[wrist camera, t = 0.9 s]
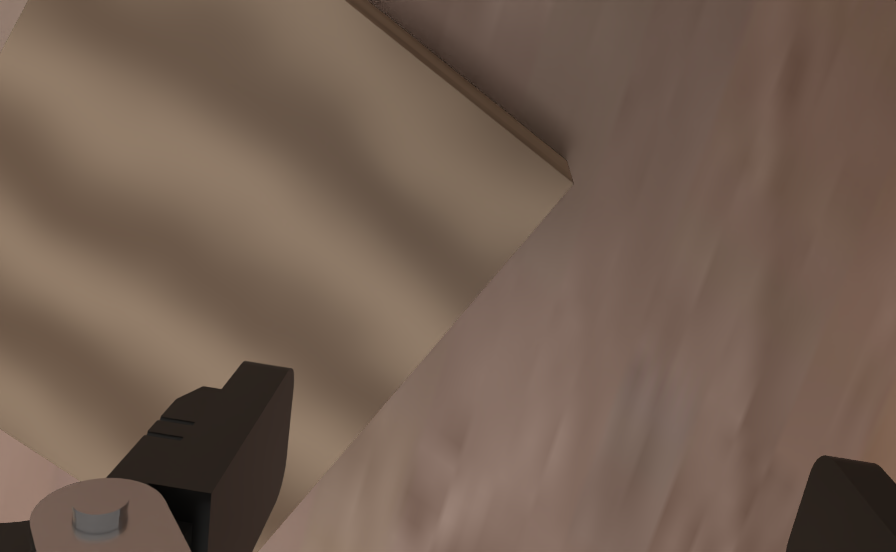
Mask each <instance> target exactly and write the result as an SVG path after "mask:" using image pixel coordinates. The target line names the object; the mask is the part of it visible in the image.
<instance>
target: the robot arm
mask: <svg viewBox="0 0 896 552" xmlns="http://www.w3.org/2000/svg"><path fill="white" fill-rule="evenodd" d="M293 390H294V371H293V369H292V368H287V367H281V366H275V365H269V364H263V363H256V362H250V361H243V362H242V364H241V365H240V366H239V367H238V369H237V370H236V371H235V372H234V374H233V375H232V376H231V378H230V379H229V380H228V381H227V383H226V384H225V385H224V386H223V388H222V389H219V388H212V387H206V386H202V387H200V388H198V389H196V390H194V391H192V392H190V393H188V394H185V395H183V396H181V397H179V398H177V399H176V400H175V401H174V402H173V403H172V404H171V405H170V406H169V408H168V409H167V410H166V411H165V412H164V413H163V414H162V415H161V417H160V420H157V421H156V422H155V423H154V424H153V425H152V427H151V428H150V429H149V430H148V431H147V435H144V436H143V437H142V438H141V439H140V440H139V441H138V442H137V443H136V445H135V446H134V447H133V448H132V449H131V450H130V451H129V452H128V454H127V455H126V456H125V457H124V458H123V459H122V460H121V461H120V463H119V464H118V465H117V466H116V467H115V468H114V469H113V470H112V472H111V473H110V474H109V475H108V476H107V477H106V478H98V479H91V480H85V481H81V482H77V483H73V484H70V485H67V486H65V487H62V488H60V489H58V490H56V491H54V492H52V493H51V494H49V495H47V496H46V497H45V498H44V499H42V500H41V501H40V502H39V503H38V504H37V505H36V507H35V508H34V510H33V512H32V513H31V517H30V520H29V521H22V522H12V523H0V552H252V551H253V549H254V547H255V545H256V543H257V541H258V539H259V537H260V535H261V533H262V530H263V528H264V526H265V524H266V522H267V520H268V518H269V516H270V514H271V512H272V509H273V507H274V505H275V503H276V501H277V498H278V496H279V493H280V489H281V486H282V482H283V477H284V472H285V467H286V460H287V450H288V440H289V430H290V420H291V410H292V400H293ZM786 552H896V484H895V483H894V481H893V480H892V479H891V478H890V477H889V476H888V475H887V474H886V472H885V471H884V470H883V469H882V468H881V467H880V466H879V465H877V464H875V463H869V462H863V461H857V460H850V459H844V458H838V457H832V456H826V455H825V456H821V457H820V458H818V459H817V460H816V462H815V463H814V465H813V467H812V469H811V472H810V475H809V478H808V481H807V484H806V488H805V491H804V494H803V497H802V500H801V503H800V506H799V509H798V512H797V516H796V519H795V522H794V525H793V528H792V531H791V534H790V537H789V541H788V544H787V549H786Z"/></svg>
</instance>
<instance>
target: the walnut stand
mask: <svg viewBox="0 0 896 552" xmlns="http://www.w3.org/2000/svg"><path fill="white" fill-rule="evenodd" d="M573 184H574V182H573V179H572V176H571V173H570V170H569V167H568V163H567V160H565V159H564V158H563V157H562V156H560V155H559V154H558V153H557V152H555V151H554V150H553V149H552V148H550V147H549V146H548V145H547V144H545V143H544V142H543V141H542V140H540V139H539V138H538V137H537V136H535V135H534V134H533V133H532V132H530V131H529V130H528V129H527V128H525V127H524V126H523V125H522V124H521V123H519V122H518V121H517V120H516V119H514V118H513V117H512V116H511V115H509V114H508V113H507V112H506V111H504V110H503V109H502V108H501V107H499V106H498V105H497V104H496V103H494V102H493V101H492V100H491V99H489V98H488V97H487V96H486V95H484V94H483V93H482V92H481V91H479V90H478V89H477V88H476V87H475V86H473V85H472V84H471V83H470V82H468V81H467V80H466V79H465V78H463V77H462V76H461V75H460V74H458V73H457V72H456V71H455V70H453V69H452V68H451V67H450V66H448V65H447V64H446V63H445V62H443V61H442V60H441V59H440V58H438V57H437V56H436V55H435V54H433V53H432V52H431V51H430V50H429V49H427V48H426V47H425V46H424V45H422V44H421V43H420V42H419V41H417V40H416V39H415V38H414V37H412V36H411V35H410V34H409V33H407V32H406V31H405V30H404V29H402V28H401V27H400V26H399V25H397V24H396V23H395V22H394V21H392V20H391V19H390V18H389V17H387V16H386V15H385V14H384V13H383V12H381V11H380V10H379V9H378V8H376V7H375V6H374V5H373V4H371V3H370V2H369V1H368V0H28V2H27V3H26V5H25V7H24V9H23V11H22V13H21V15H20V17H19V18H18V20H17V22H16V24H15V26H14V28H13V30H12V32H11V34H10V35H9V37H8V39H7V41H6V43H5V45H4V47H3V49H2V51H1V52H0V429H1V430H2V431H4V432H5V433H7V434H8V435H10V436H11V437H13V438H15V439H16V440H18V441H19V442H21V443H22V444H24V445H25V446H27V447H28V448H30V449H31V450H33V451H34V452H36V453H38V454H39V455H41V456H42V457H44V458H45V459H47V460H48V461H50V462H51V463H53V464H54V465H56V466H57V467H59V468H61V469H62V470H64V471H65V472H67V473H68V474H70V475H71V476H73V477H74V478H76V479H77V480H79V481H80V482H81V481H85V480H91V479H98V478H106V477H107V476H108V475H109V474H110V473H111V472H112V470H113V469H114V468H115V467H116V466H117V465H118V464H119V463H120V461H121V460H122V459H123V458H124V457H125V456H126V455H127V454H128V452H129V451H130V450H131V449H132V448H133V447H134V446H135V445H136V443H137V442H138V441H139V440H140V439H141V438H142V437H143V436H144V435H147V431H148V430H149V429H150V428H151V427H152V425H153V424H154V423H155V422H156V421H157V420H160V417H161V415H162V414H163V413H164V412H165V411H166V410H167V409H168V408H169V406H170V405H171V404H172V403H173V402H174V401H175V400H176V399H177V398H179V397H181V396H183V395H185V394H188V393H190V392H192V391H194V390H196V389H198V388H200V387H202V386H206V387H212V388H219V389H222V388H223V386H224V385H225V384H226V383H227V381H228V380H229V379H230V378H231V376H232V375H233V374H234V372H235V371H236V370H237V369H238V367H239V366H240V365H241V364H242V362H243V361H250V362H256V363H263V364H269V365H275V366H281V367H287V368H292V369H293V371H294V390H293V400H292V410H291V420H290V430H289V440H288V450H287V460H286V467H285V472H284V477H283V482H282V486H281V489H280V493H279V496H278V498H277V501H276V503H275V505H274V507H273V509H272V512H271V514H270V516H269V518H268V520H267V522H266V524H265V526H264V528H263V530H262V533H261V535H260V537H259V539H258V541H257V543H256V545H255V547H254V549H253V551H252V552H258V551H259V550H260V549H261V548H262V547H263V545H264V544H265V543H266V542H267V541H268V540H269V538H270V537H271V536H272V535H273V534H274V533H275V531H276V530H277V529H278V528H279V527H280V526H281V524H282V523H283V522H284V521H285V520H286V519H287V517H288V516H289V515H290V514H291V513H292V512H293V510H294V509H295V508H296V507H297V506H298V505H299V503H300V502H301V501H302V500H303V499H304V498H305V496H306V495H307V494H308V493H309V492H310V491H311V489H312V488H313V487H314V486H315V485H316V484H317V482H318V481H319V480H320V479H321V478H322V477H323V475H324V474H325V473H326V472H327V471H328V470H329V468H330V467H331V466H332V465H333V464H334V463H335V462H336V460H337V459H338V458H339V457H340V456H341V455H342V453H343V452H344V451H345V450H346V449H347V448H348V446H349V445H350V444H351V443H352V442H353V441H354V439H355V438H356V437H357V436H358V435H359V434H360V432H361V431H362V430H363V429H364V428H365V427H366V425H367V424H368V423H369V422H370V421H371V420H372V418H373V417H374V416H375V415H376V414H377V413H378V411H379V410H380V409H381V408H382V407H383V406H384V404H385V403H386V402H387V401H388V400H389V399H390V397H391V396H392V395H393V394H394V393H395V392H396V390H397V389H398V388H399V387H400V386H401V385H402V383H403V382H404V381H405V380H406V379H407V378H408V376H409V375H410V374H411V373H412V372H413V371H414V369H415V368H416V367H417V366H418V365H419V364H420V362H421V361H422V360H423V359H424V358H425V357H426V356H427V354H428V353H429V352H430V351H431V350H432V349H433V347H434V346H435V345H436V344H437V343H438V342H439V340H440V339H441V338H442V337H443V336H444V335H445V333H446V332H447V331H448V330H449V329H450V328H451V326H452V325H453V324H454V323H455V322H456V321H457V319H458V318H459V317H460V316H461V315H462V314H463V312H464V311H465V310H466V309H467V308H468V307H469V305H470V304H471V303H472V302H473V301H474V300H475V298H476V297H477V296H478V295H479V294H480V293H481V291H482V290H483V289H484V288H485V287H486V286H487V284H488V283H489V282H490V281H491V280H492V279H493V277H494V276H495V275H496V274H497V273H498V272H499V270H500V269H501V268H502V267H503V266H504V265H505V263H506V262H507V261H508V260H509V259H510V258H511V257H512V255H513V254H514V253H515V252H516V251H517V250H518V248H519V247H520V246H521V245H522V244H523V243H524V241H525V240H526V239H527V238H528V237H529V236H530V234H531V233H532V232H533V231H534V230H535V229H536V227H537V226H538V225H539V224H540V223H541V222H542V220H543V219H544V218H545V217H546V216H547V215H548V213H549V212H550V211H551V210H552V209H553V208H554V206H555V205H556V204H557V203H558V202H559V201H560V199H561V198H562V197H563V196H564V195H565V194H566V192H567V191H568V190H569V189H570V188H571V187H572V185H573Z"/></svg>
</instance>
